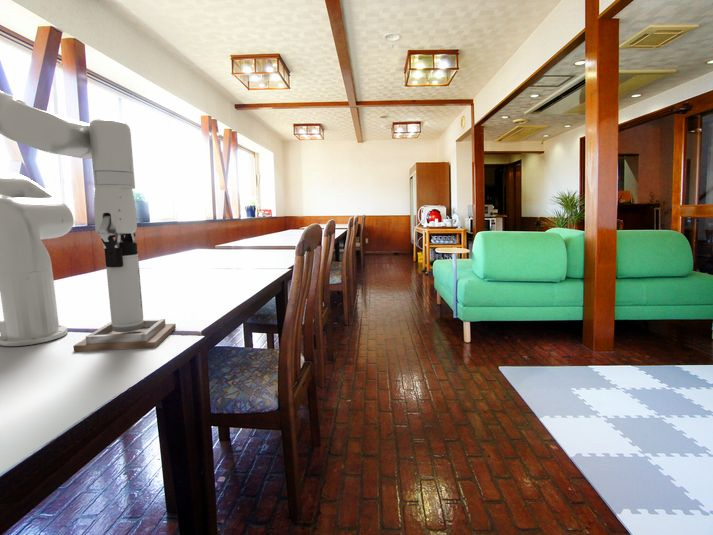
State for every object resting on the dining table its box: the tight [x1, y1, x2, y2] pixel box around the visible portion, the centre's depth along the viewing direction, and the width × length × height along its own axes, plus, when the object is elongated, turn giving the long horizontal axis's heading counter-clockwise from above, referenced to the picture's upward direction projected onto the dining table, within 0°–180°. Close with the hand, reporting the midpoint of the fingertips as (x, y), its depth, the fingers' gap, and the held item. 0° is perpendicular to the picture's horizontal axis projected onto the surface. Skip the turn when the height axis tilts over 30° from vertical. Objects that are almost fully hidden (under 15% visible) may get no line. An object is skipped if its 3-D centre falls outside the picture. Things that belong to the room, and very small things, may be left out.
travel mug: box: [106, 242, 145, 332], centre depth 90 cm, size 6×7×20 cm
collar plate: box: [73, 318, 176, 352], centre depth 92 cm, size 16×14×3 cm
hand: (122, 264), depth 90 cm, fingers closed on travel mug, 6 cm apart
